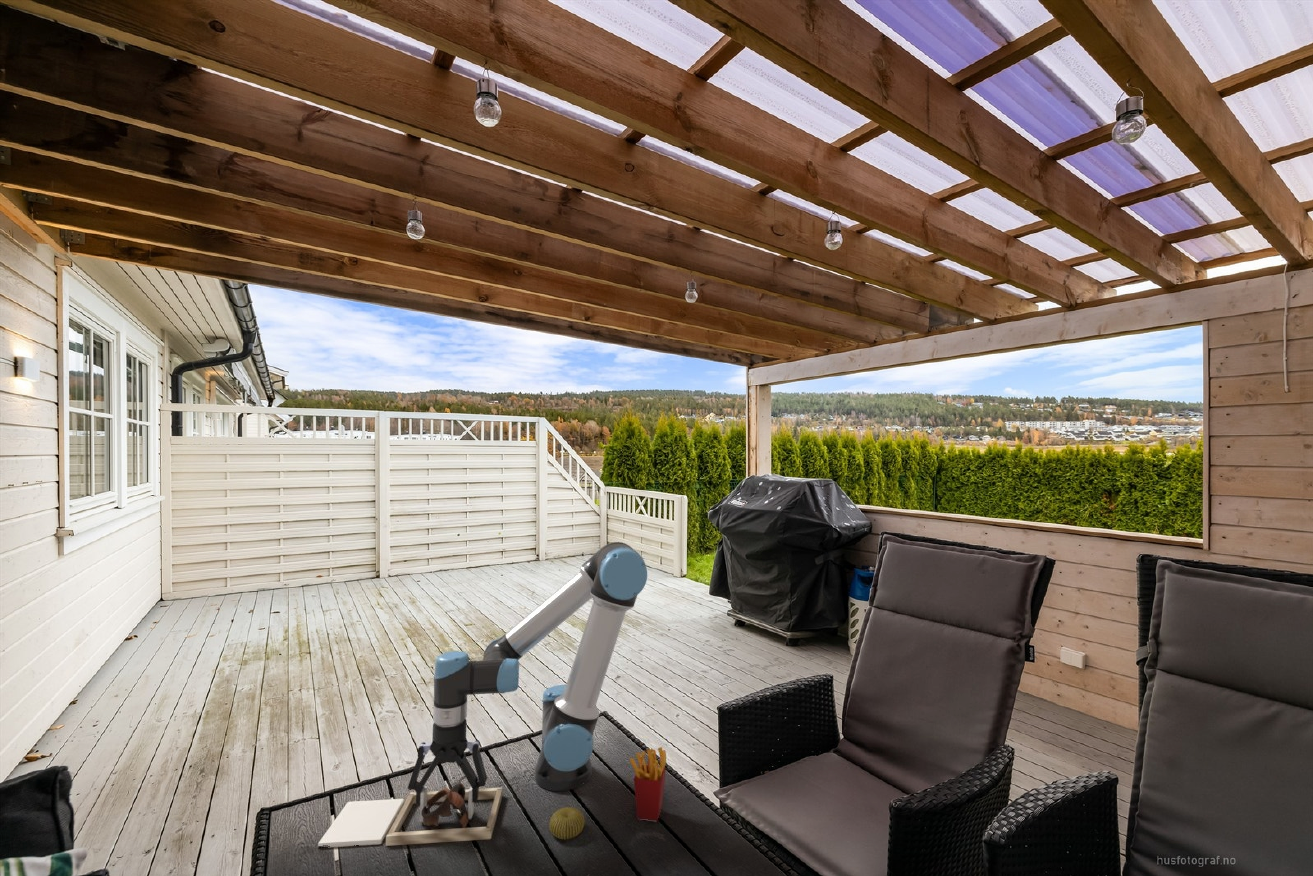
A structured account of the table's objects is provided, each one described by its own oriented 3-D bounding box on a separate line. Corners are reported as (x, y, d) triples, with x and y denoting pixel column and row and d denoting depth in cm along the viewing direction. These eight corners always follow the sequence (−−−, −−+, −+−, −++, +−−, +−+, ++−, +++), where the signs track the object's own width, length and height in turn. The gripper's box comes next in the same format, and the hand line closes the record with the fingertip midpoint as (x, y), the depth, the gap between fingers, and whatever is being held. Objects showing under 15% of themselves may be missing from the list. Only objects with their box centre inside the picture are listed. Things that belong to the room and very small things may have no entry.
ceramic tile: (403, 802, 139) (403, 798, 139) (380, 844, 124) (380, 839, 124) (347, 806, 137) (348, 801, 137) (317, 848, 122) (318, 843, 122)
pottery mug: (463, 839, 126) (443, 811, 125) (428, 853, 128) (409, 825, 127) (482, 794, 138) (465, 768, 137) (451, 807, 140) (433, 782, 138)
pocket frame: (502, 795, 142) (502, 787, 142) (490, 839, 126) (491, 829, 126) (409, 800, 139) (410, 792, 140) (385, 845, 123) (386, 836, 123)
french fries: (660, 826, 131) (661, 760, 131) (626, 820, 132) (626, 755, 133) (668, 803, 139) (668, 741, 140) (635, 799, 141) (636, 737, 142)
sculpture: (583, 801, 133) (585, 822, 126) (583, 818, 133) (585, 841, 125) (549, 805, 132) (549, 827, 124) (548, 822, 132) (549, 845, 124)
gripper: (394, 730, 128) (390, 830, 128) (496, 726, 131) (493, 824, 130) (405, 715, 136) (402, 809, 135) (501, 712, 138) (499, 804, 138)
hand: (447, 816), depth 133 cm, fingers open, 10 cm apart
